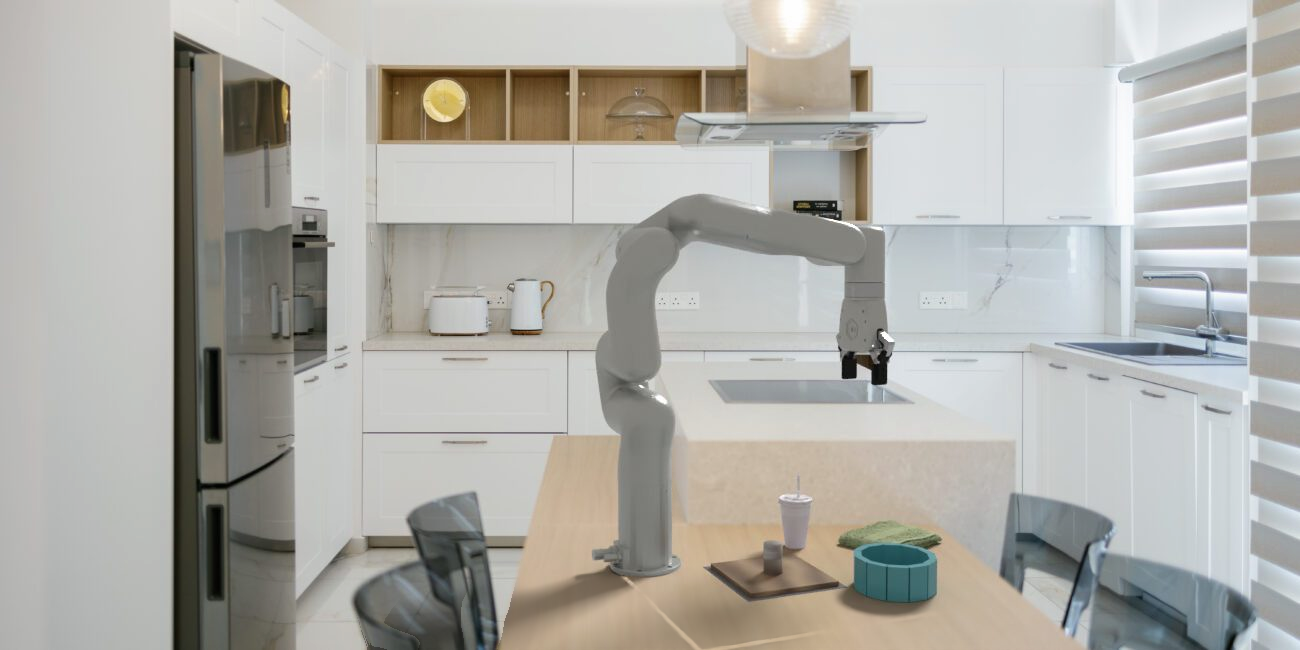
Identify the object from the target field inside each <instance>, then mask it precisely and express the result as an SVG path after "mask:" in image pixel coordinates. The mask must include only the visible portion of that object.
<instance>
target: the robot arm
mask: <svg viewBox="0 0 1300 650" xmlns="http://www.w3.org/2000/svg"><path fill="white" fill-rule="evenodd" d="M692 242H701V243H706V244H711V245H716V246H720V247H726V248H730V249H731V248H732V249H735V250H739V251H744V252H749V253H753V254H757V255H767V256H768V255H769V256H793V257H800V258H801V257H802V258H805V259H806V261H808V262H809V263H811V264H813V265H815V266H819V267H820V266H823V267H838V266H839V267H844V285H843V286H844V287H843V288H844V289H843V291H844V292H843V294H844V296H843V299H842V302H841V308H840V315H839V327H838V333H837V334H836V335H835V339H836V342H837V348H838V351H839V358H840V359H841V379H842V380H854V379H857V378H858V377H857V376H858V358H857V357H856V355H857V354H858V353H861V354H865V353H869V354H870V357H871V359H872V361H873V363H871V367H870V368H871V369H870V371H871V372H870V377H871V380H870V383H871V385H872V386H883V385H887V384H888V364H889V363H890V361H891V360H890V359H891V357H892V355H893V350H894V348H895V343H896V342H895V340H894V339H893V338H892V337H890V336H889V328H888V327H889V326H888V325H889V323H888V313H887V305H886V304H887V303H886V283H885V282H886V233H885V230H884V229H883V228H881V227H879V226H855V225H854V224H850V223H848V222H844V221H839V220H835V219H831V218H826V217H822V216H817V215H816V216H815V215H811V214H805V213H798V212H793V211H789V210H785V209H780V208H779V209H778V208H772V207H767V206H763V205H758V204H753V203H748V202H745V201H744V202H743V201H740V200H738V199H737V200H736V199H732V198H728V197H724V196H720V195H715V194H710V193H696V194H690V195H685V196H682V197H679V198H676V199H675V200H673V201H671V202H670V203H669V204H666V205H665V206H664V207H662V208H661V209H660V210H658V211H657V212H654V213H653V214H651V215H650V216H648V217H646V219H644V220H642V221H640V222H638V223H637V224H635V225H634V226H632V227H631V228H629V229H628V230H627V231H626V232H624V233H623V234H622V235H621V236H620V237H619V239H618V240H617V242H616V246H615V251H614V252H615V259H616V262H615V264H614V266H613V268H612V269H611V272H610V274H609V277H608V279H607V285H606V290H605V305H606V307H605V308H606V317H607V318H606V321H607V329H608V330H606V331H605V332H603V334H602V335H601V337H599V339H598V342H597V344H596V348H595V355H594V357H595V358H594V359H595V361H594V362H595V369H596V377H597V384H598V391H599V398H600V399H599V400H600V405H601V406H600V407H601V410H602V414H603V418H604V420H605V422H606V424H607V426H608V427H609V428H610V429H611V430H613V432H615V433H616V434H618V435H619V436H620V442H619V450H618V457H617V506H618V507H617V511H618V512H617V516H618V517H617V521H618V522H617V523H618V527H617V528H618V533H617V534H618V539H617V540H616V539H615V540H613V545H609V546H608V548H603V547H602V548H595V549H594V548H593V549H592V550H591V558H592V560H593V561H601V560H602V561H603V563H609V568H610V569H611V571H612V572H614V573H615V574H618V575H621V576H622V577H623V576H625V577H627V576H630V577H642V578H644V577H646V578H647V577H650V578H651V577H660V576H664V575H668V574H671V573H675V572H676V571H678V570H679V569H681V566H682V560H681V558H680V557H679V556H678V555H676V554H675V553H673V512H672V511H673V504H672V503H673V500H672V499H673V495H672V492H673V491H672V490H673V489H672V488H673V486H672V485H673V484H672V483H673V481H672V470H673V469H672V460H673V459H672V458H673V446H674V440H675V433H676V416H675V412H674V409H673V407H672V405H671V403H670V401H668V400H667V398H666V397H665V396H664V395H662V394H660V393H658V392H656V391H654V390H651V389H650V386H649V381H651V380H653V379H654V378H655V377H656V376H657V374H658V373H659V371H660V370H661V367H662V351H661V343H660V337H659V336H660V335H659V329H658V322H657V321H658V320H657V313H656V294H657V289H658V287H659V285H660V283H661V281H662V279H663V278H664V277H665V275H667V273H669V272H670V271H672V269H673V268H674V266H676V264H677V262H678V260H679V256H680V252H681V250H683V248H686V247H687V246H688V245H690V244H691V243H692Z"/></svg>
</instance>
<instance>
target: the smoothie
mask: <svg viewBox="0 0 1300 650" xmlns="http://www.w3.org/2000/svg"><path fill="white" fill-rule="evenodd" d="M813 503H814V502H813V497H812V496H810V495H807V494H802V493H801V474H797V475H796V493H787V494H782V495H780V496H778V504H779V505H780V514H781V521H782V530H783V538H784V546H785V548H788V549H791V550H802V549H805V548H806V546H807V538H808V530H809V522H810V517H811V516H810V515H811V507H812V505H813Z"/></svg>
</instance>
